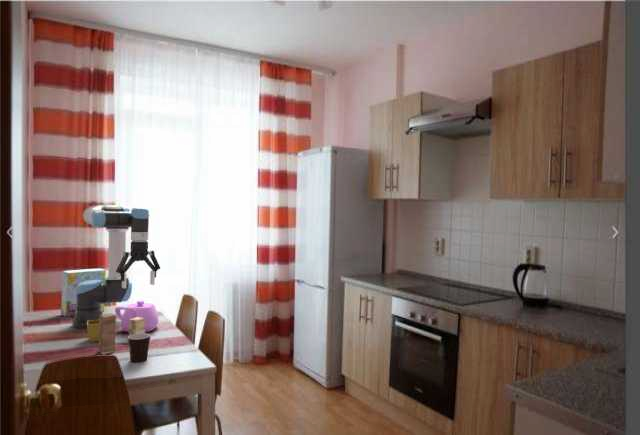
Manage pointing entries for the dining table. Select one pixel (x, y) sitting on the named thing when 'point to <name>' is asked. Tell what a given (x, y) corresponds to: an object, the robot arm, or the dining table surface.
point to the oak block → (136, 325)
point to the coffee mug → (138, 347)
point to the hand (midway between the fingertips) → (138, 286)
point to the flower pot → (93, 330)
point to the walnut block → (107, 333)
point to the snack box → (70, 287)
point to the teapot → (138, 315)
